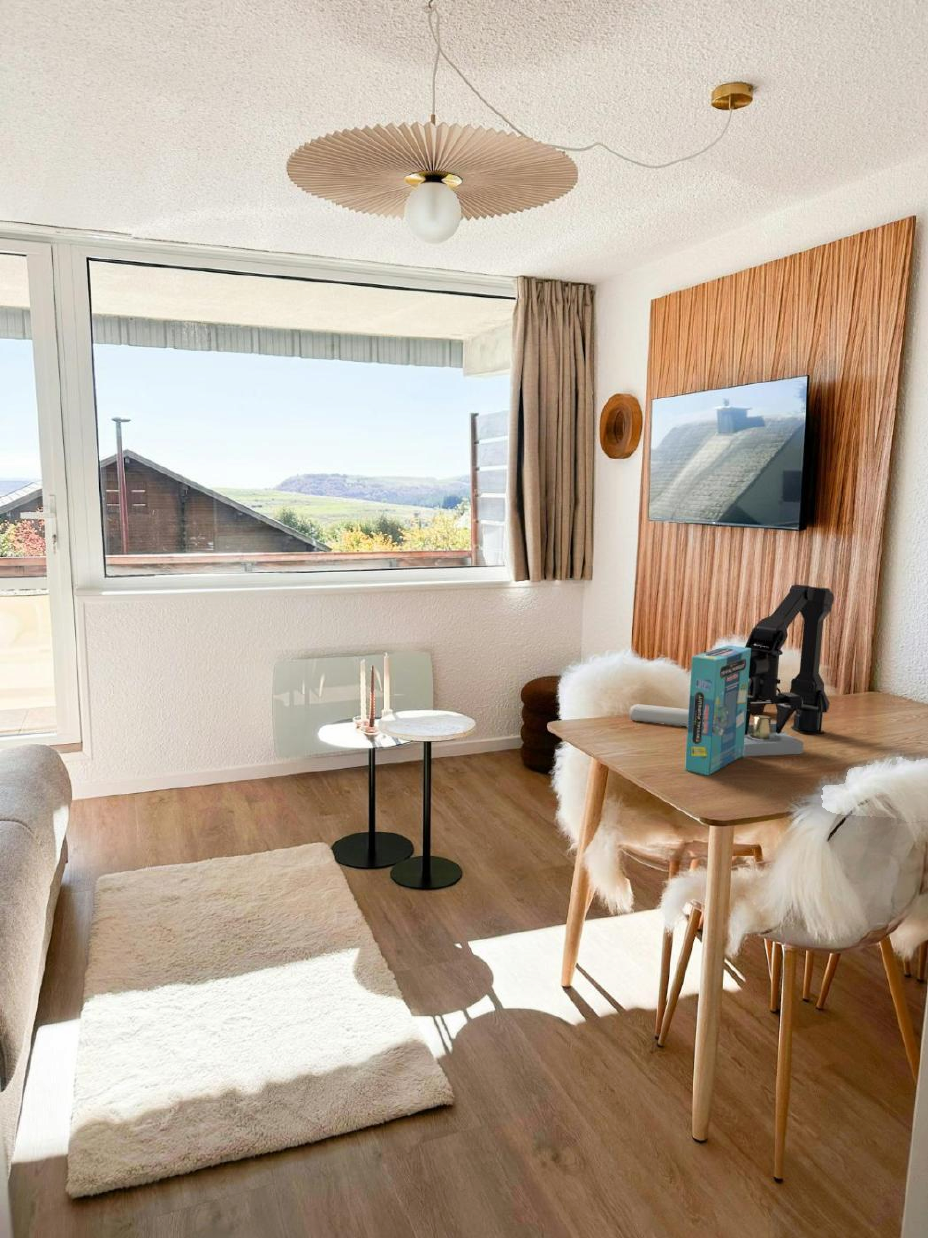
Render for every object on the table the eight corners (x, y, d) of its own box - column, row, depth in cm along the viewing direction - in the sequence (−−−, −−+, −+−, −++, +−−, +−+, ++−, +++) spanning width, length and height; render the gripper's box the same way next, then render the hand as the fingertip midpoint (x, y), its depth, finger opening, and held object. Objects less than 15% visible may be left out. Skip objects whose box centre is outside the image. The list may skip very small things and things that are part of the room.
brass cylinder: (763, 745, 223) (765, 715, 222) (771, 749, 219) (774, 719, 218) (749, 746, 222) (751, 715, 221) (757, 750, 218) (759, 719, 217)
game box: (719, 751, 217) (726, 644, 213) (744, 756, 213) (751, 648, 209) (683, 770, 201) (690, 655, 197) (709, 776, 197) (717, 659, 193)
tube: (627, 709, 243) (719, 718, 233) (631, 699, 247) (721, 708, 238) (627, 725, 245) (719, 735, 236) (631, 715, 249) (721, 725, 240)
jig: (775, 740, 228) (777, 721, 227) (802, 753, 216) (804, 734, 216) (720, 742, 225) (721, 723, 224) (744, 756, 213) (745, 736, 212)
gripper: (781, 666, 228) (776, 724, 230) (716, 668, 224) (712, 726, 226) (806, 675, 217) (801, 735, 219) (738, 677, 213) (734, 738, 215)
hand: (761, 733), depth 220 cm, fingers open, 9 cm apart
